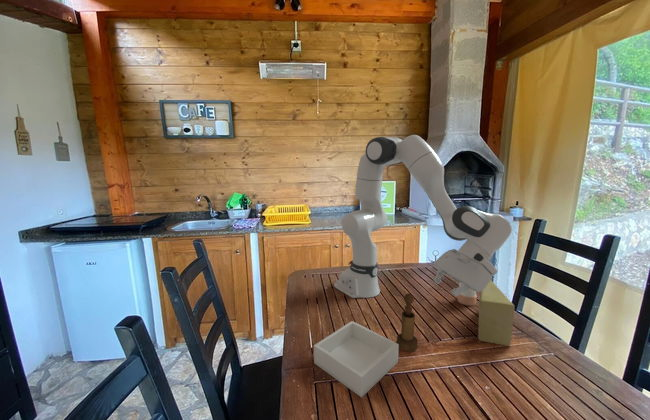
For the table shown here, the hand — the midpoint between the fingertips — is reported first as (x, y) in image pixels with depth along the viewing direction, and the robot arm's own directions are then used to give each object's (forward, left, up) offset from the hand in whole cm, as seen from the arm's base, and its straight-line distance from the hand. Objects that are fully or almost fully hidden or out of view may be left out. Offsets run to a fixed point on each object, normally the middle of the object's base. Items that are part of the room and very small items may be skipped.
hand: (444, 288), depth 91 cm
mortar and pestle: (-7, -10, -19) cm, 23 cm away
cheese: (+9, +20, -19) cm, 29 cm away
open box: (-14, -28, -19) cm, 37 cm away
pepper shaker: (-3, +34, -19) cm, 39 cm away
